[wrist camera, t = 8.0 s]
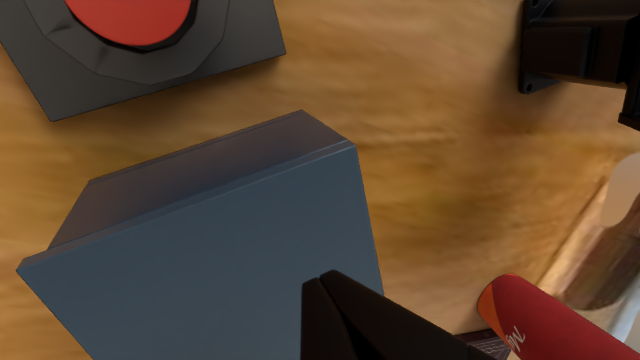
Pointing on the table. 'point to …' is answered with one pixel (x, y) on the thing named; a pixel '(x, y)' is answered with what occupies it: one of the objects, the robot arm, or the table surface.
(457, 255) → the table surface
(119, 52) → the push button switch
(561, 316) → the paper cup
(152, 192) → the storage box
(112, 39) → the red button
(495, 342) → the chocolate bar
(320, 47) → the table surface
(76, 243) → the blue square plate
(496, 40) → the table surface
